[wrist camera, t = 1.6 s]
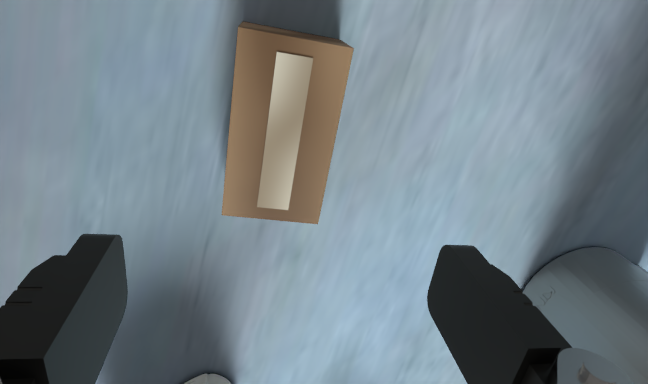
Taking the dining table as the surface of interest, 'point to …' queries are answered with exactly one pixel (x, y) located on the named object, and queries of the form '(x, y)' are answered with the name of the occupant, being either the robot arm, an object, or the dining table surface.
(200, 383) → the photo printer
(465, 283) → the robot arm
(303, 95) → the card box
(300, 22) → the dining table surface
